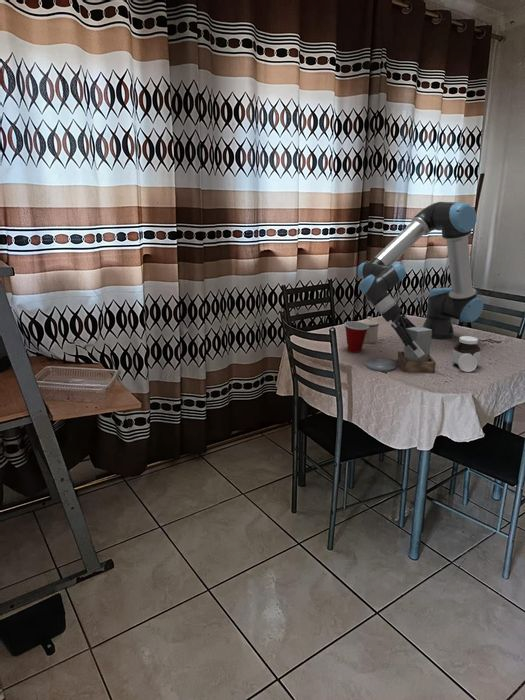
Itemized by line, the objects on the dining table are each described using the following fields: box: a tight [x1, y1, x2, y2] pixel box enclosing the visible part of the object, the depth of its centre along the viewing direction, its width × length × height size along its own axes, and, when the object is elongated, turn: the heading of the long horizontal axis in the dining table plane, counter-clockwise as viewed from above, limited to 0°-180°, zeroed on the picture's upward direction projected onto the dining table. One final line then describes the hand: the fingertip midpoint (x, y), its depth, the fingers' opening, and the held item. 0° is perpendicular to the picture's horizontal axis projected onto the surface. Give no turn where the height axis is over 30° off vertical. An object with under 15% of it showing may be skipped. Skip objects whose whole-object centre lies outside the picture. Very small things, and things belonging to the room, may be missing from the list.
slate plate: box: [365, 358, 397, 372], centre depth 197 cm, size 12×12×1 cm
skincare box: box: [403, 326, 432, 362], centre depth 195 cm, size 8×7×16 cm
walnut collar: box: [396, 351, 437, 373], centre depth 197 cm, size 12×13×4 cm
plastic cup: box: [344, 320, 369, 353], centre depth 215 cm, size 11×11×12 cm
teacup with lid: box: [359, 316, 380, 344], centre depth 229 cm, size 12×9×12 cm
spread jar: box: [451, 335, 482, 373], centre depth 195 cm, size 12×11×12 cm
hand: (424, 352), depth 194 cm, fingers closed on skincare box, 10 cm apart
